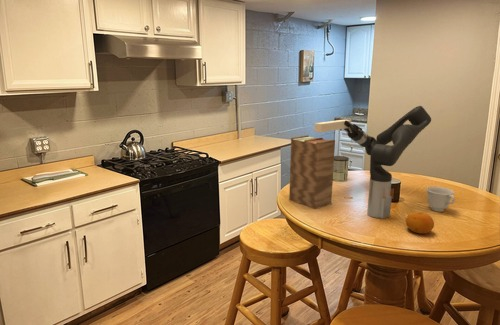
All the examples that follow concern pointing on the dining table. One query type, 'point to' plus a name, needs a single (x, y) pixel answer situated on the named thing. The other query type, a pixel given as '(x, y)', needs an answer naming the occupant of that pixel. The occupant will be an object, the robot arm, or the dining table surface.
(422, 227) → the fruit
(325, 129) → the block
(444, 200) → the teacup
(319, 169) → the brown patterned box
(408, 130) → the robot arm
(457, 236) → the dining table surface
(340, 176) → the coffee can
